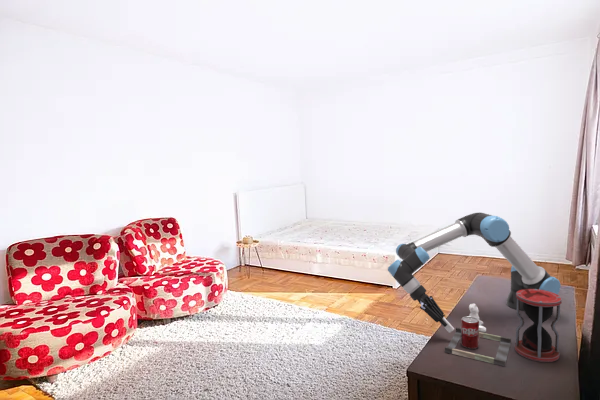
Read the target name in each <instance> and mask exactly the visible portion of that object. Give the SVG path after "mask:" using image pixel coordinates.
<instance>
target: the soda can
mask: <svg viewBox="0 0 600 400" xmlns="http://www.w3.org/2000/svg"><path fill="white" fill-rule="evenodd" d="M460 328H461V337H460V344H461V346H462V347H464V348H466V349H469V350H470V349H471V350H476V349H477V348H479V346H480V337H479V332H480V331H479V321H478V319H476V318H474V317H470V316H469V315H468V316H467V315H466V316H463V317H462V318H461V319H460Z"/></svg>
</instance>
